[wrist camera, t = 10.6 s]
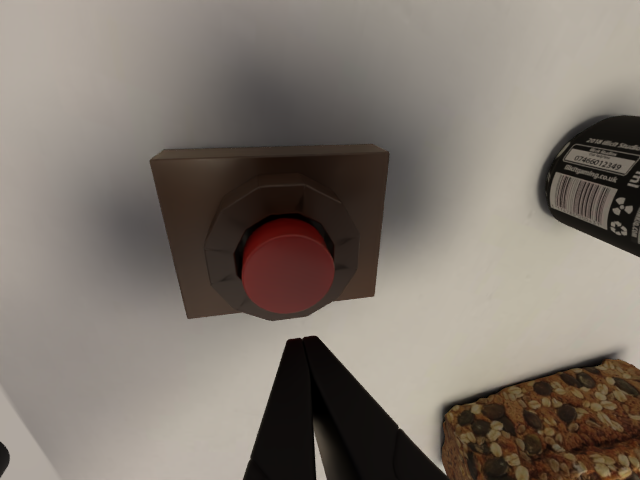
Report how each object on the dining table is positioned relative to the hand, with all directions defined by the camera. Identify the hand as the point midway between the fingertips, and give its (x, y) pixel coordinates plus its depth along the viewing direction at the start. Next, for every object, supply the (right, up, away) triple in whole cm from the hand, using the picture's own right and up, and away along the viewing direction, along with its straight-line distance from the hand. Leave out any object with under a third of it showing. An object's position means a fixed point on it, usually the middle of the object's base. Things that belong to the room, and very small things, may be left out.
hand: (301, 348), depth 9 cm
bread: (+21, -14, +22) cm, 33 cm away
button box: (-2, +4, +8) cm, 9 cm away
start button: (-1, +2, +5) cm, 5 cm away
